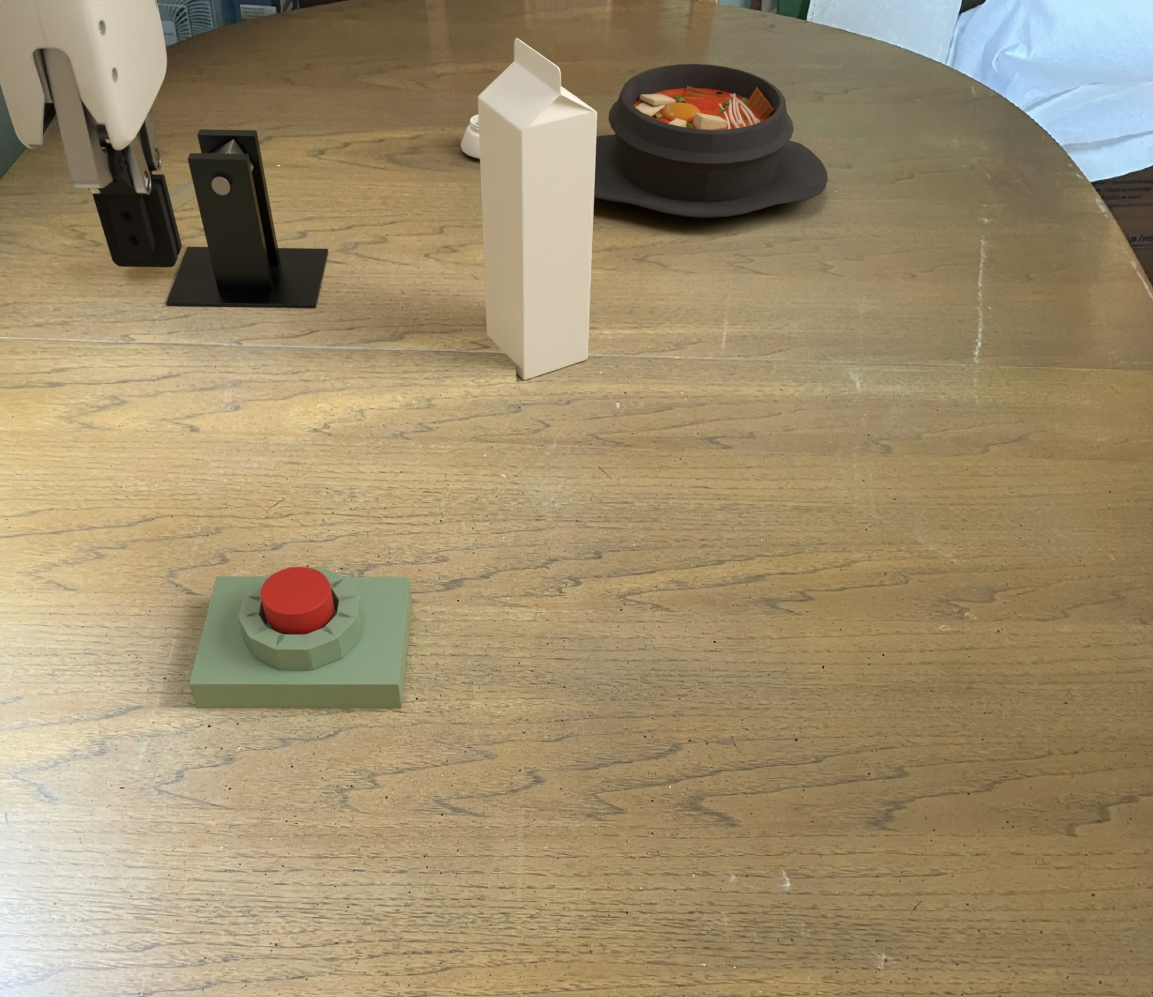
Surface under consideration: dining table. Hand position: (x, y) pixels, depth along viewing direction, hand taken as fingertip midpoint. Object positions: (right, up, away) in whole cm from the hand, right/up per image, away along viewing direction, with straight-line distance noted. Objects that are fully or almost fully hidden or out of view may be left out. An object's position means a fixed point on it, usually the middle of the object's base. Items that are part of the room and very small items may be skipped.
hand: (148, 258), depth 59 cm
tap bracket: (-5, +13, +38) cm, 40 cm away
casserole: (+33, +28, +51) cm, 67 cm away
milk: (+19, +6, +33) cm, 38 cm away
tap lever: (-9, +17, +33) cm, 38 cm away
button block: (+6, -20, +12) cm, 23 cm away
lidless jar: (+13, +33, +55) cm, 65 cm away
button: (+6, -17, +9) cm, 20 cm away
